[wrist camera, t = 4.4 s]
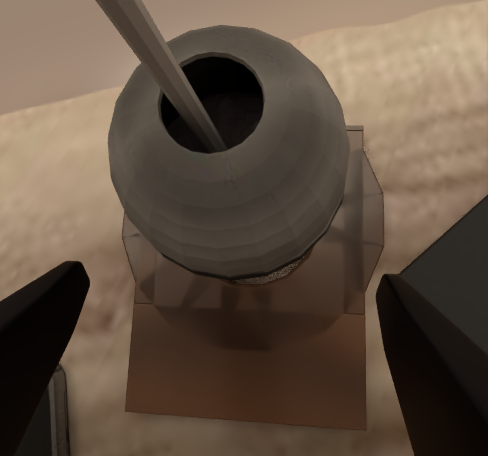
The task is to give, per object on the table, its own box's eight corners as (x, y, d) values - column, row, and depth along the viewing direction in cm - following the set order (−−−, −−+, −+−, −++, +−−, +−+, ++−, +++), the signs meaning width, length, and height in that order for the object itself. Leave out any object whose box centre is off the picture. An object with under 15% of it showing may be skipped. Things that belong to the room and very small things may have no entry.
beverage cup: (285, 289, 21) (709, 770, 1) (184, 254, 21) (-798, 79, 2) (318, 187, 21) (961, -842, 2) (219, 157, 22) (-180, -765, 2)
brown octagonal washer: (375, 415, 19) (388, 432, 17) (121, 396, 21) (105, 410, 19) (371, 109, 22) (381, 93, 20) (145, 109, 23) (134, 94, 21)
